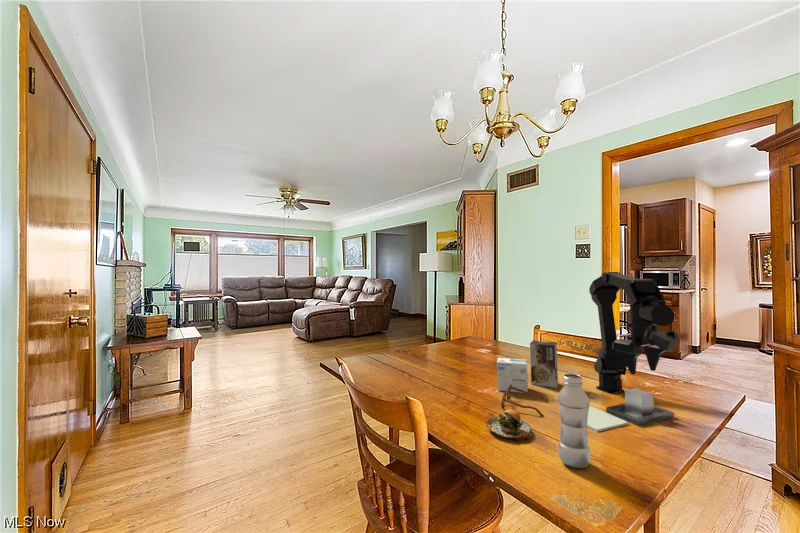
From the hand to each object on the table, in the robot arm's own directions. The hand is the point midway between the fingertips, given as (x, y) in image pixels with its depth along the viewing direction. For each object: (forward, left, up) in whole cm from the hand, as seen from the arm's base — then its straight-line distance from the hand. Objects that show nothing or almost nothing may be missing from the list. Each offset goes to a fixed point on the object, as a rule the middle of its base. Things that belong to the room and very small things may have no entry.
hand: (643, 372), depth 99 cm
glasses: (-20, -27, -14) cm, 36 cm away
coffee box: (-33, -7, -13) cm, 36 cm away
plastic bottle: (+11, -40, -13) cm, 43 cm away
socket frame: (-1, -1, -13) cm, 13 cm away
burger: (-7, -44, -14) cm, 46 cm away
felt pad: (-4, -16, -13) cm, 21 cm away
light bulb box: (-33, -22, -13) cm, 42 cm away
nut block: (-1, -1, -13) cm, 13 cm away
